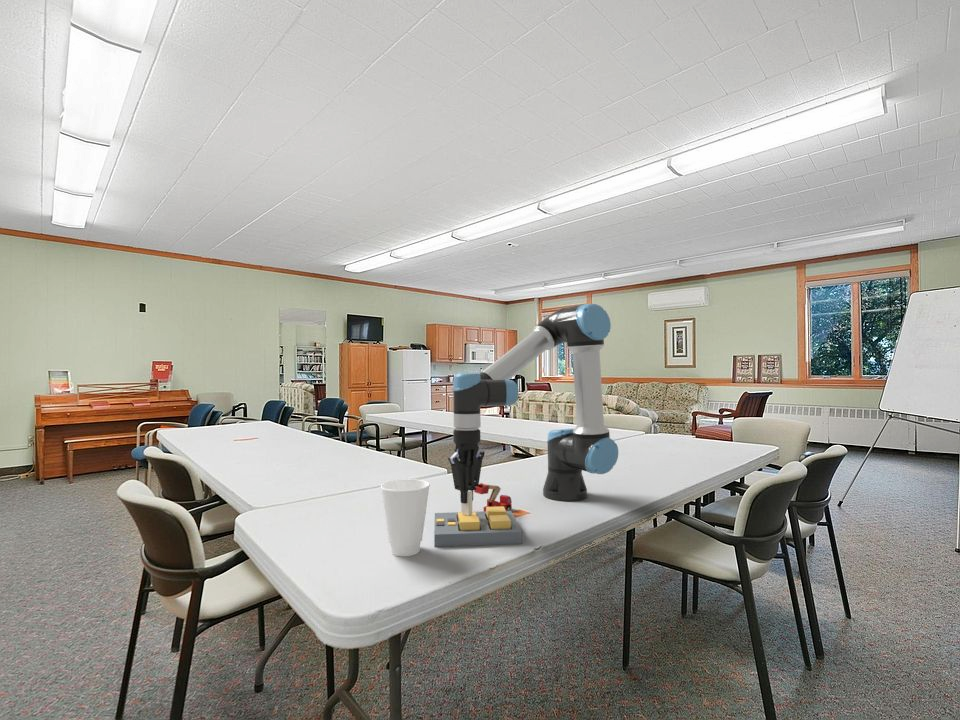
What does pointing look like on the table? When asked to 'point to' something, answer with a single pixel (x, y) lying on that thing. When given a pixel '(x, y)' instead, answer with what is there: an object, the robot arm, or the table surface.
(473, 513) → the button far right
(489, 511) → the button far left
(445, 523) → the board
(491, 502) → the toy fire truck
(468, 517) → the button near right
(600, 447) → the robot arm
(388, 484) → the cup
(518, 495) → the table surface
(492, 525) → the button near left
